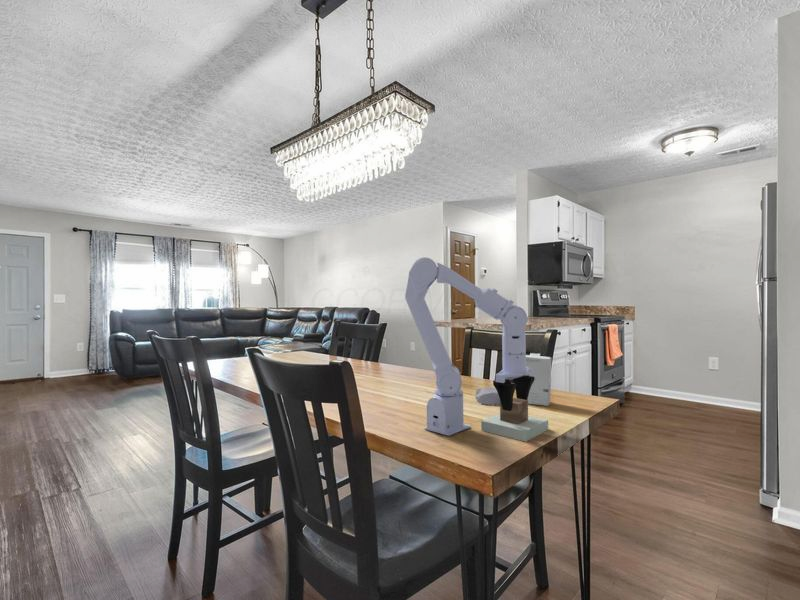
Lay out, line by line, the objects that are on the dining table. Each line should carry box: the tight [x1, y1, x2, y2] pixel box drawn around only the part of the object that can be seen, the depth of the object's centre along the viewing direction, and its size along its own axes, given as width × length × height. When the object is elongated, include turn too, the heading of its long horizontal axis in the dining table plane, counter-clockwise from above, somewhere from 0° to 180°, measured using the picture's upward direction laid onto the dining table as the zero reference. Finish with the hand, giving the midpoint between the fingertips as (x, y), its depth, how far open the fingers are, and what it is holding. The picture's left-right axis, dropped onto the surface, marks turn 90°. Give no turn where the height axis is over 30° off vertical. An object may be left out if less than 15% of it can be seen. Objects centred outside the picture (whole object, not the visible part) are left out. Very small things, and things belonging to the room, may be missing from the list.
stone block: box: [474, 386, 500, 405], centre depth 131 cm, size 12×5×10 cm
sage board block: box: [480, 412, 549, 442], centre depth 100 cm, size 12×12×3 cm
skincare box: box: [526, 354, 552, 407], centre depth 127 cm, size 8×6×15 cm
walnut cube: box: [499, 397, 529, 425], centre depth 100 cm, size 5×5×5 cm
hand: (514, 407), depth 100 cm, fingers open, 7 cm apart
